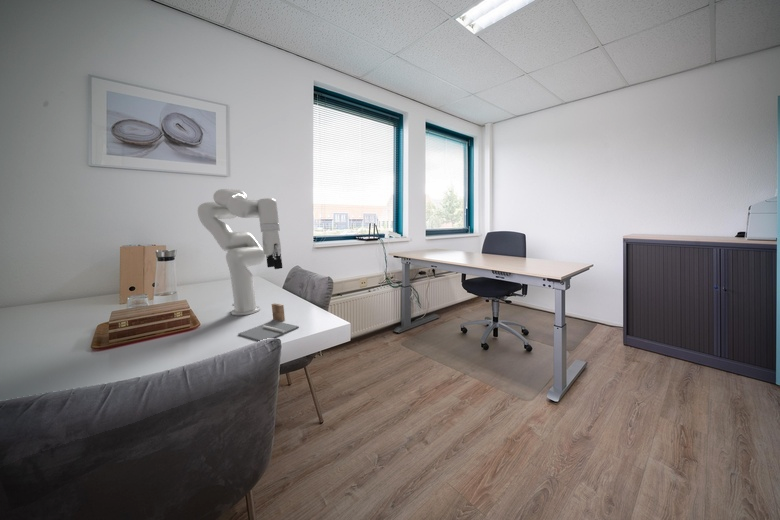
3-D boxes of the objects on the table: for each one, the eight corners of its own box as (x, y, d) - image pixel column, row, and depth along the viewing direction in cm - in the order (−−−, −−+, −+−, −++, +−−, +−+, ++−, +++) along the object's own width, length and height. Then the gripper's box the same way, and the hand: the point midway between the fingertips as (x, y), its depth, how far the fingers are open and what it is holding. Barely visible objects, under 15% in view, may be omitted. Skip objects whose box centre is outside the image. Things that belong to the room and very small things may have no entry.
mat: (238, 335, 114) (237, 331, 114) (273, 321, 128) (272, 318, 128) (264, 342, 106) (263, 338, 106) (298, 327, 120) (298, 323, 119)
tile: (273, 319, 131) (271, 304, 130) (276, 318, 133) (274, 303, 132) (282, 321, 128) (280, 305, 127) (285, 320, 130) (283, 304, 129)
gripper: (255, 229, 130) (260, 267, 132) (266, 228, 116) (272, 270, 118) (272, 228, 134) (277, 265, 136) (285, 226, 121) (290, 268, 123)
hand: (274, 267), depth 127 cm, fingers open, 9 cm apart
